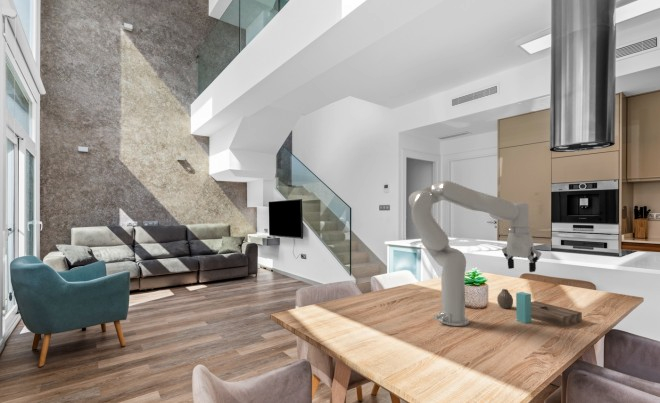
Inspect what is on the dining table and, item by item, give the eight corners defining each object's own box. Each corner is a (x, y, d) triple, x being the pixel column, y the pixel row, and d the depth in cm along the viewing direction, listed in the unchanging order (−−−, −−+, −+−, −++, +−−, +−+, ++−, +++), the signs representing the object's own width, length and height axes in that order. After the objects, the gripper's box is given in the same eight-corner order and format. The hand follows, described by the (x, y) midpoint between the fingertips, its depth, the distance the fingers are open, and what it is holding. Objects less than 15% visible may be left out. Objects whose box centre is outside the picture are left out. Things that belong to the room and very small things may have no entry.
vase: (511, 310, 163) (511, 292, 164) (496, 308, 168) (495, 290, 168) (514, 307, 169) (514, 289, 169) (499, 304, 173) (498, 287, 173)
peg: (525, 323, 145) (524, 295, 146) (516, 320, 149) (516, 293, 149) (531, 321, 147) (530, 293, 147) (522, 319, 151) (522, 291, 151)
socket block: (562, 327, 141) (562, 317, 141) (517, 313, 158) (517, 305, 158) (581, 321, 147) (581, 312, 147) (536, 309, 165) (535, 301, 165)
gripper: (496, 230, 156) (498, 268, 155) (534, 232, 140) (536, 274, 140) (507, 229, 159) (508, 266, 159) (544, 231, 144) (546, 272, 144)
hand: (521, 269), depth 149 cm, fingers open, 9 cm apart
